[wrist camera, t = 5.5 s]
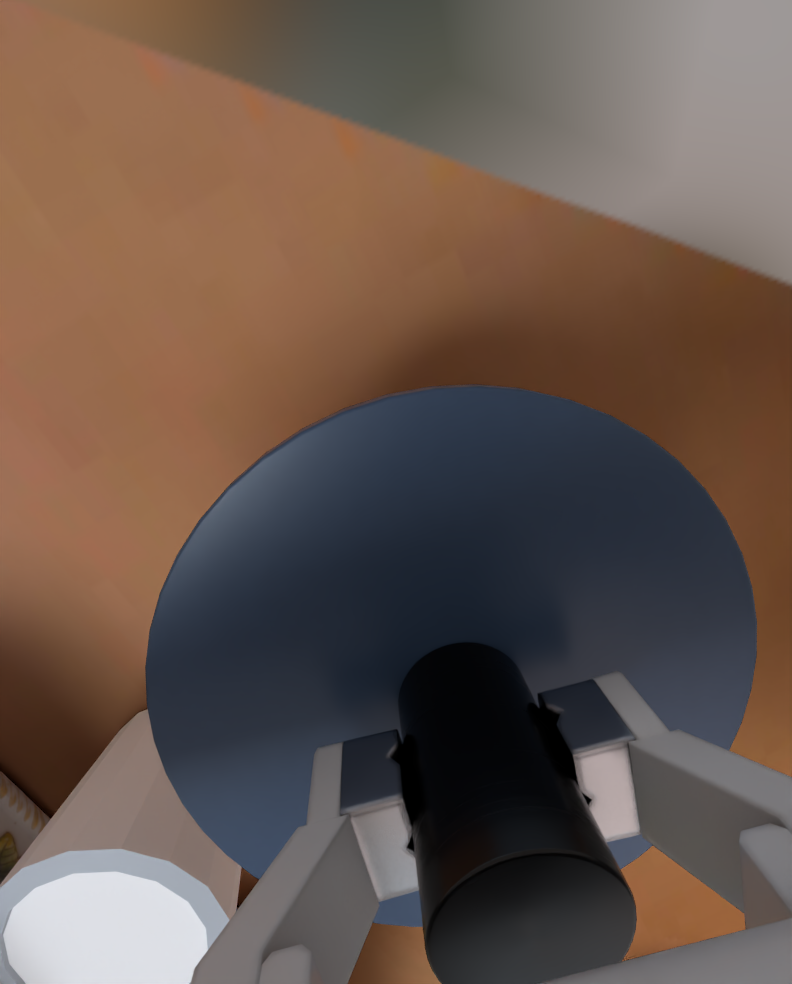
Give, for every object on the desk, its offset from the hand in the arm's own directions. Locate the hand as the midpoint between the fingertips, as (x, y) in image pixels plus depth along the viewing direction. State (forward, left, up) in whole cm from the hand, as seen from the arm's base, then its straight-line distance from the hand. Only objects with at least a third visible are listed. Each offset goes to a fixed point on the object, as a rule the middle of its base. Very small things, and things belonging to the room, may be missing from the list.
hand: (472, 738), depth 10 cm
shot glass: (+11, +7, -11) cm, 17 cm away
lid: (0, 0, -2) cm, 2 cm away
